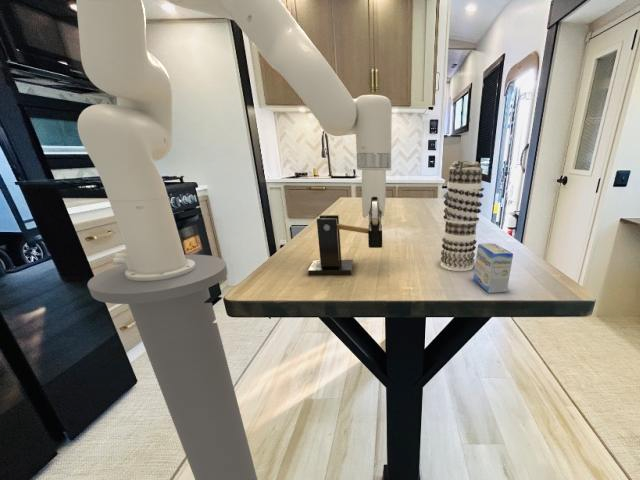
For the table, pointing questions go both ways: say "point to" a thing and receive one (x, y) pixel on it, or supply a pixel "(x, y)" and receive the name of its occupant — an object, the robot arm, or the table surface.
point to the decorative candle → (461, 215)
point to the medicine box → (492, 267)
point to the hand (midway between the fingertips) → (375, 243)
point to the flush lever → (352, 228)
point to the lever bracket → (329, 249)
